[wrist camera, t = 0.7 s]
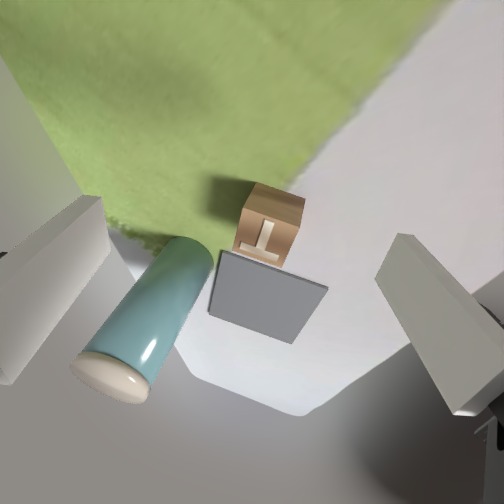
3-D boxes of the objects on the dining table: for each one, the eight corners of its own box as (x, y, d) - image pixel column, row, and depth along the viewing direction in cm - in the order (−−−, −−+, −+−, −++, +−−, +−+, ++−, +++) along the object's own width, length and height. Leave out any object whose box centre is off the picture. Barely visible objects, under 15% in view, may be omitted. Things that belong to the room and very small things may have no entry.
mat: (223, 250, 40) (222, 252, 40) (328, 287, 40) (328, 289, 39) (209, 312, 51) (208, 314, 50) (291, 342, 50) (291, 344, 50)
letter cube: (256, 181, 32) (242, 208, 27) (305, 198, 32) (299, 228, 27) (245, 222, 36) (231, 251, 31) (289, 237, 36) (281, 269, 31)
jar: (165, 228, 40) (61, 350, 25) (217, 247, 40) (144, 381, 25) (164, 266, 46) (78, 385, 31) (210, 283, 45) (146, 410, 31)
